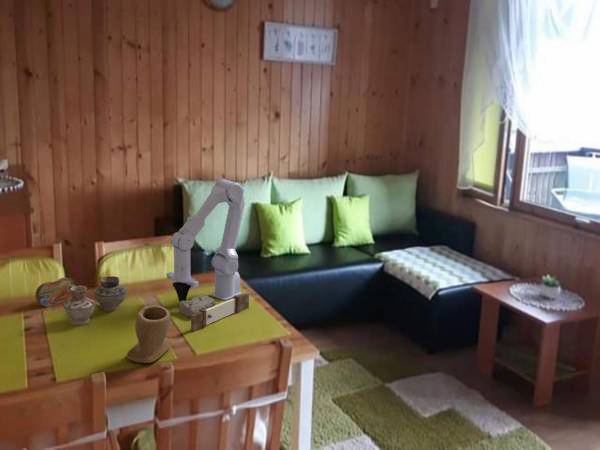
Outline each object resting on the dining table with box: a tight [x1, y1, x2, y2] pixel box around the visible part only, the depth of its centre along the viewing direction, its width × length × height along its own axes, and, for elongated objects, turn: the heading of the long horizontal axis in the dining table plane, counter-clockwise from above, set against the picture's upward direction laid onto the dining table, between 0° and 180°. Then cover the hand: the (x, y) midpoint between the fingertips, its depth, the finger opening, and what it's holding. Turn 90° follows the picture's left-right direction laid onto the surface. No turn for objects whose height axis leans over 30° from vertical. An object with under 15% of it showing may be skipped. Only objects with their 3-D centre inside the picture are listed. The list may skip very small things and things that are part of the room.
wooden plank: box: [190, 292, 250, 332], centre depth 205 cm, size 27×2×6 cm, turn 144°
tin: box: [35, 277, 78, 308], centre depth 212 cm, size 15×3×8 cm, turn 143°
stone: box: [178, 294, 217, 318], centre depth 211 cm, size 13×6×10 cm
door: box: [206, 297, 236, 326], centre depth 204 cm, size 15×2×5 cm, turn 144°
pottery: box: [62, 275, 128, 326], centre depth 203 cm, size 11×25×12 cm, turn 156°
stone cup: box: [126, 305, 174, 364], centre depth 177 cm, size 15×12×15 cm
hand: (182, 301), depth 215 cm, fingers closed
